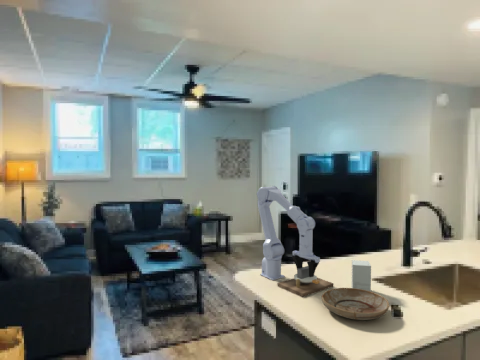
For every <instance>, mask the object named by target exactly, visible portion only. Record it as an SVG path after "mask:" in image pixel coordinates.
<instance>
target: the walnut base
mask: <svg viewBox="0 0 480 360" xmlns="http://www.w3.org/2000/svg"><path fill="white" fill-rule="evenodd" d="M317 280H319V281H320V283H318V284H315V283H313V282H312V283H304V282H300V279H296V280H295V279H294V277H293V278H290V279H287V280H284V281H279V282H277V287H278V288H281V289H283V290H285V291H288V292H289V293H292V294H295V295H296V296H299V297H301V298H303V297H307V296H310V295H313V294H315V293H319V292H322V291H324V290H327V289H328V290H329V289H330V288H331V289H332V288H333V287H334V283H333V282H331V281H328V280H325V279H322V278H319V277H317Z"/></svg>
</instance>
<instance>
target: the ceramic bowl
mask: <svg viewBox="0 0 480 360" xmlns="http://www.w3.org/2000/svg"><path fill="white" fill-rule="evenodd" d="M321 301H322V303H323V306H325V308H327V310H329V311H330V312H332V313H334V314H335V315H338V316H340V317H343V318H346V319H350V320H356V321H357V320H359V321H367V320H368V321H370V320H374V319H375V320H376V319H378V318H381V317H383V316H384V315H386V314H387V313H388V311H389V309H390V303H389V301H388V299H386V298H385V297H384V296H382V295H380V294H379V293H376V292H373V291H371V292H370V291H367V290H362V289H355V288H352V287H336V288H331V289H328V290H326V291H324V292H323V293H322V295H321Z"/></svg>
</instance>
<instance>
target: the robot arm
mask: <svg viewBox="0 0 480 360" xmlns="http://www.w3.org/2000/svg"><path fill="white" fill-rule="evenodd" d="M256 197H257V209H258V212H259V213H258V214H259V217H260V221H261V227H262V230H263V233H264V234H263V235H264V238H265V240H264V242H263V244H262V248H263V249H262V253H263V258H262V260H261V273H260V276H262V277H264V278H267V279H269V280H270V281H275V280H278V279H282V278H286V277H285V275H283V274H282V258H283V255H284V254H285V248H284V245H283V243H282V242H281V239H279V238H278V237H277V233H276V229H275V224H274V222H273V217H272V212H271V208H270V206H271V204H272V203H273V202H276V203H278V204H279V205H280V206H281V207H282V208H283V209H285V210H286V211H287V216H288V217H289V218H290V219H291V220H292V221H293V222H294V223H295V224H296V227H297V230H298V234H299V245H298V247H299V248H298V250H293V251H292V260H293V261H294V265H295V267H296V270H297V269H298V268H302V267H303V264H304V259H306V260H309V261H307V262H306V263H307V266H308V267H309V277H314V275H315V273H316V269H317V268H318V265H319V264H320V262H321V257H320V256H316V255H315V254H314V252H313V230H314V229H315V227H316V221H315V219H314V218H313V217H312V216H308V215H307V214H306V213H304V212H303V211H302V210H301V207H300V206H296V205H293V204H292V203H291V202H290V200H288V199H287V198H286V197H285V196H284V195H283V193H282V191H281V189H279V188H278V186H275V185H272V186H271V185H270V186H261V187H259V188H258V190H257V192H256Z"/></svg>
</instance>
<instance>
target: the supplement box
mask: <svg viewBox="0 0 480 360" xmlns="http://www.w3.org/2000/svg"><path fill="white" fill-rule="evenodd" d="M371 287H372V265H371V263H370V261H369V260H356V259H355V260H354V259H352V260H351V288H355V289H362V290H367V291H370V292H372V290H371V289H372V288H371Z"/></svg>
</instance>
